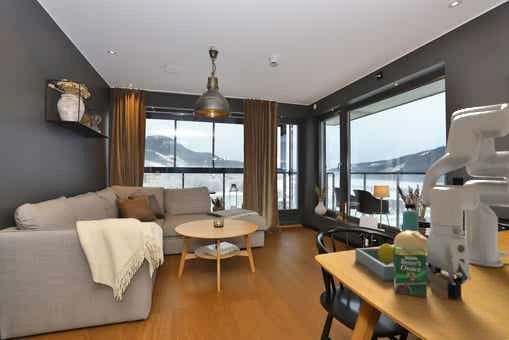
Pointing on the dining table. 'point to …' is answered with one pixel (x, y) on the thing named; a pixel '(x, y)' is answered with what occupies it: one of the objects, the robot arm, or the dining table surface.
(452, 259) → the robot arm
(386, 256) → the lemon
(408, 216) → the beverage bottle
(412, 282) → the coffee box
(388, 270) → the tote
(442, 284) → the walnut cube
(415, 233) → the sculpture
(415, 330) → the dining table surface
